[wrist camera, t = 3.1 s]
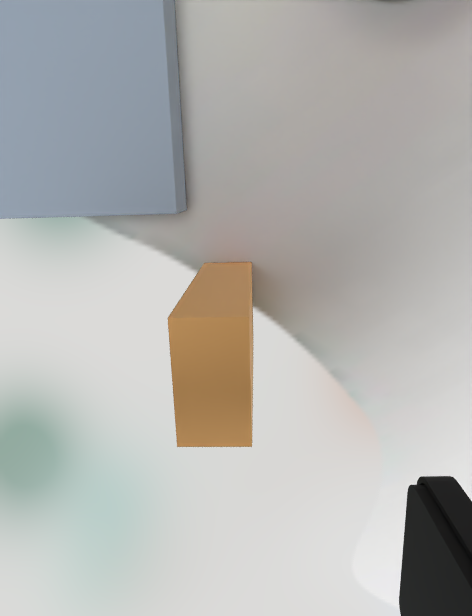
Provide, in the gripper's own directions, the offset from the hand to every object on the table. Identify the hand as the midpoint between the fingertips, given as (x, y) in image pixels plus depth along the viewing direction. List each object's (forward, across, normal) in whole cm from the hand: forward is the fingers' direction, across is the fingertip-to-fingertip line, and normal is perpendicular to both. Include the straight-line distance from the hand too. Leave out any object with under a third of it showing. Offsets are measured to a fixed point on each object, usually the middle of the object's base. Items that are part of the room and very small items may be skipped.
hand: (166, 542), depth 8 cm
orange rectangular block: (+16, 0, -1) cm, 16 cm away
